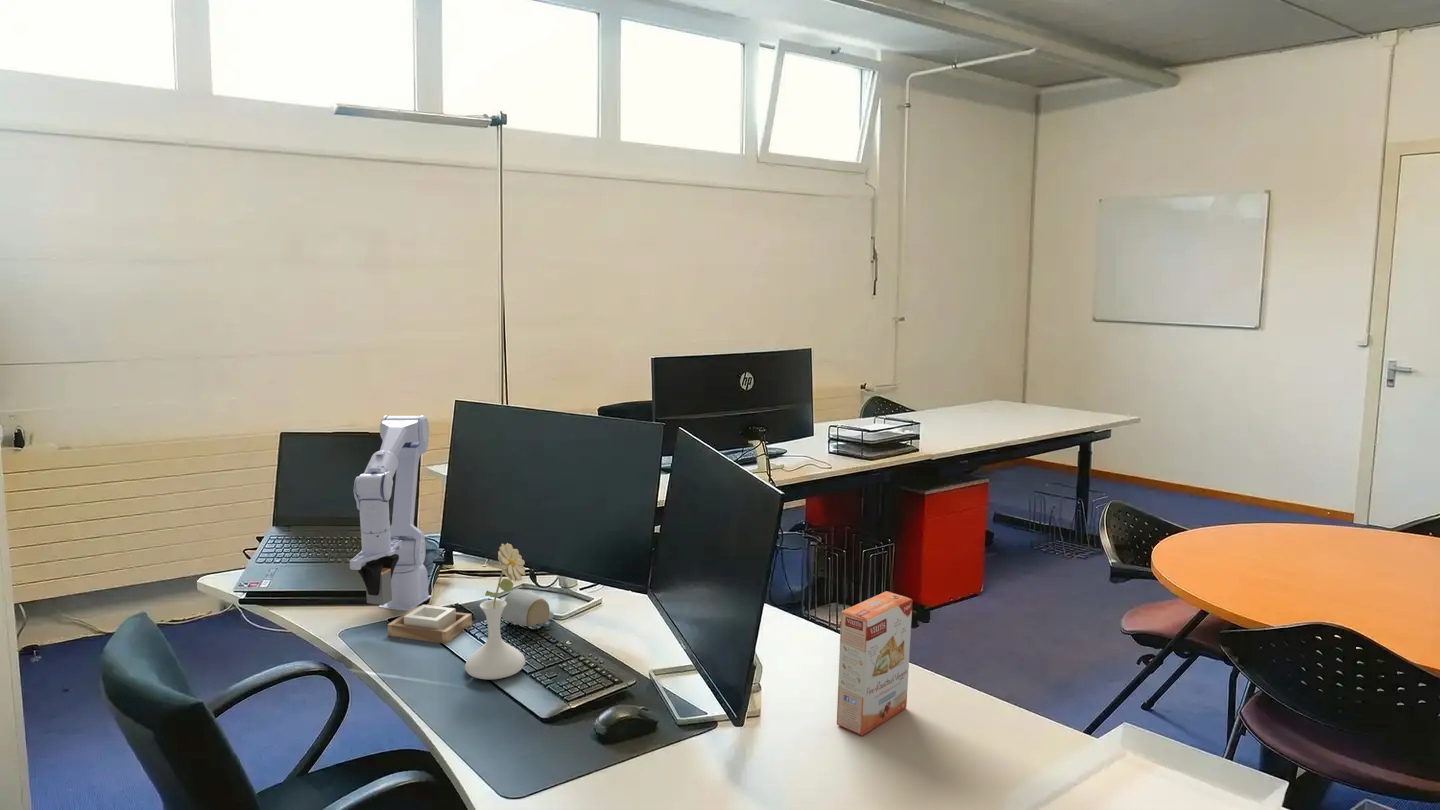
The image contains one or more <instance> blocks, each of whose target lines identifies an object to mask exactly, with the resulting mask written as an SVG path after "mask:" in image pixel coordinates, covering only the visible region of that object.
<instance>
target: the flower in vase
mask: <svg viewBox="0 0 1440 810" xmlns="http://www.w3.org/2000/svg"><path fill="white" fill-rule="evenodd" d="M500 545H501V546H499V551H497V553H498V556H497V559H498V561H499V566H500V567H501V573H500V576H499V579H498V583H497V587H496V592H492V591H489V590H486V592H485V595H484V596H486V597H494V599H488V600H485V601H482V602H481V603H480V604H479V608H480V609H481V610H482V611H483V612H484V615H485V617H486V622H487V630H488V631H487V632H488V635H487V639H486V641H485V643H484V644H483V645H481V646H480V647H479V648H478V649H477V650H475V651H474V652H473V653H472V654H471V655H470V656H469V657H468V658H467V660H466V662H465V664H464V669H465V672H466V673H467V674H468V675H469V676H470V677H473V678H474V679H480V680H499V679H503V678H509V677H511V676H513V675H516V674H517V673H519V672H520V671H521V670H522V669H523V668H524V666H525V664H526V658H525V656H524V654H523V653H522V652H521V651H520V650H518V649H517V648H516V647H514V646H512V645H510V644H509V643H508V642H505V641H504V640H503V638H502V635H501V620H502V619H501V618H502V611H503V609H504V607H505V606H506V604H507V603H506V601H504V600H505V599H504V600H503V599H497V597H498V595H499V594H500V593H499V589H501V590H502V591H503V592H505V593H508V592H511V591H512V589H513V588H514V582H515V583H516V582H521V581H523V576H526V572H525V571H526V568H525V566H524V565H525V560H524V559H522V558H523V557H522V555H521V554H519V553H520V551H519V550H518V548H514V547H513V545H512V544H511V543H508V542H507V543H505V544H504V543H501V544H500ZM503 575H505V576H506V578H503Z"/></svg>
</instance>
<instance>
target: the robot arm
mask: <svg viewBox="0 0 1440 810" xmlns="http://www.w3.org/2000/svg"><path fill="white" fill-rule="evenodd" d="M429 426H430V425H429V420H428V418H427V417H426V415H424V414H421V415H389V414H388V415H387V414H386V415H384V416H382V418H381V419H380V424H379V434H380V438H381V440H382V442H381V444H380V445H381V446H380V449H379V450H378V451H375V452H374V453H373V454H372V455H371V457H370V459H369V461H368V463H367V465H366V467H365V470H364V472H363V473H361V474H360V475H359V476H356V477H355V479H354V482H353V484H354V485H353V496H354V499H355V502H356V508H357V510H359V521H360V523H359V525H360V535H361V536H360V538H361V551H360V552H359V553H358V554H356V556H354V557H353V558H351V559H350V560H349V570H353V571H357V572H358V574H359V575H360V576H361V579H362V581H363V583H364V585H365V589H366V588H367V591H368V594H369V595H375V596H377V595H379V589H380V575H381V571H382V568H390V569H391V588H392V600H391V601H390V602H388V603H386V604H384V605H379V606H378V608H381V609H388V610H397V611H403V612H405V611H406V612H408V611H410V610H412V609H413V608H415V607H419V605H422V604H423V603H425V602H427V600H429V599H431V598H433V597H432V595H429V577H428V570H427V568H426V566H425V565H424V563H425V559H426V551H427V549H426V537H425V534H424V532H423V531H421V530H420V529H419V528H418V527H416V526H415V525H414V524H415V523H414V521H415V512H416V510H415V509H416V497H417V485H418V473H419V472H418V471H419V463H420V457H421V455H423V454H425V453H427V451H428V448H429V447H428V446H429V437H430V436H429V435H430V427H429ZM394 475H395V476H394ZM394 477H395V482H394V480H393V478H394ZM394 484H395V485H394ZM393 486H394V493H393ZM392 493H393V494H394V495H393V496H394V497H393V508H392V515H391V516H392V517H391V518H392V519H391V521H390V506H389V505H390V503H389V500H390V499H391V497H392Z"/></svg>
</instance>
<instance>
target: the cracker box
mask: <svg viewBox="0 0 1440 810" xmlns="http://www.w3.org/2000/svg"><path fill="white" fill-rule="evenodd" d="M913 601H914V600H913V599H912V598H910V597H907V596H904V595H901V594H897V593H894V592H891V591H887V590H886V591H884V592H881V593H880V594H877V595H874V596H873V597H870V598H868V599H865V600H864V601H861V602H860V603H857V604H855V605H852V606H849V607H848V608H845V609H843V610H841V613H840V631H839V633H840V634H839V657H838V659H839V660H838V682H837V683H838V684H837V702H836V703H837V706H836V725H837V726H840V727H842V728H844V729H846V730H848V731H850V732H853V733H855V734H857V735H860V736H864V735H866V734H867V733H869V732H871V731H872V730H874V729H875V728H877V727H878V726H880V725H882V724H883V723H885V722H887V721H888V720H889V719H891V718H893V717H894V716H896V715H898V714H899V713H901V712H902V711H904V710H906V709H907V704H908V686H909V685H908V684H909V668H910V652H911V651H910V650H911V637H912V635H911V634H912V633H911V632H912V631H911V630H912V620H913V619H912V616H913Z"/></svg>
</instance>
